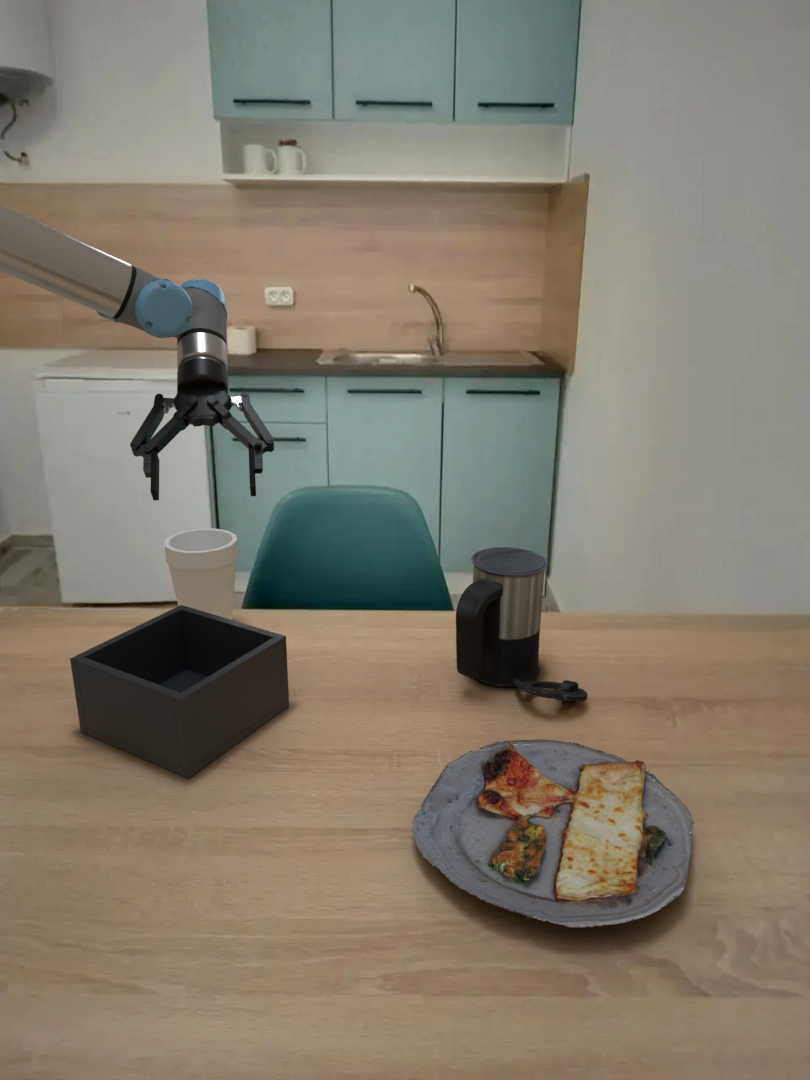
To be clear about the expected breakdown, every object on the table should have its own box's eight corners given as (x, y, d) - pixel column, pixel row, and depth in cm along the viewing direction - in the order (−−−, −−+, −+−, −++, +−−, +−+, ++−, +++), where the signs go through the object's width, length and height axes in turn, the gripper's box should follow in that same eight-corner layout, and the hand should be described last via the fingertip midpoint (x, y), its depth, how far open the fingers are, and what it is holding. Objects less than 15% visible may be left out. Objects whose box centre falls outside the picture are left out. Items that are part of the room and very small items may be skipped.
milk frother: (477, 647, 109) (482, 541, 104) (598, 668, 104) (609, 558, 99) (444, 700, 97) (447, 583, 92) (580, 727, 92) (591, 604, 86)
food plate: (473, 735, 90) (474, 707, 89) (698, 787, 81) (703, 757, 80) (378, 893, 68) (378, 858, 67) (673, 986, 60) (678, 948, 59)
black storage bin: (80, 732, 90) (69, 658, 87) (187, 670, 103) (181, 604, 100) (188, 779, 82) (180, 700, 79) (289, 706, 95) (286, 635, 92)
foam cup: (255, 630, 113) (250, 541, 109) (194, 651, 108) (186, 558, 103) (219, 608, 120) (213, 523, 116) (160, 627, 114) (151, 538, 110)
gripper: (285, 383, 131) (293, 502, 123) (122, 387, 128) (117, 510, 119) (285, 354, 125) (293, 477, 116) (112, 357, 121) (107, 484, 112)
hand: (204, 494), depth 117 cm, fingers open, 13 cm apart
